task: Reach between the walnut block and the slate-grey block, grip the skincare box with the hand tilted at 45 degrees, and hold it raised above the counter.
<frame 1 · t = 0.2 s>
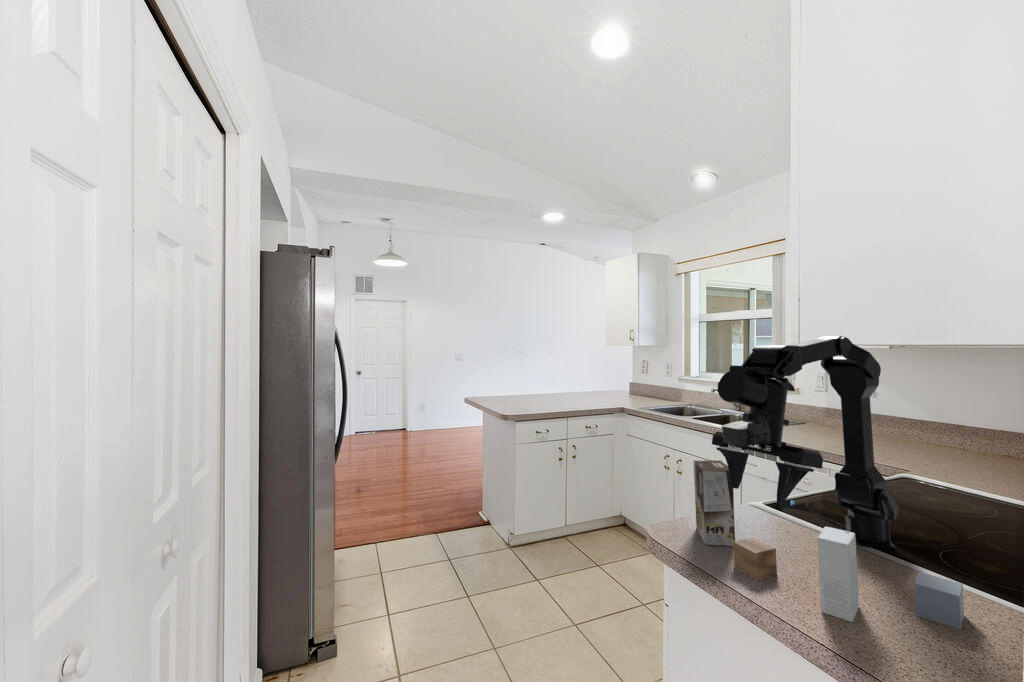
hand: (756, 495, 80), 15 cm above the countertop, tool pointing down, fingers open, 9 cm apart
skincare box: (839, 610, 70), on the countertop
coffee box: (715, 537, 97), on the countertop
walnut block: (755, 571, 82), on the countertop
slate block: (939, 615, 68), on the countertop
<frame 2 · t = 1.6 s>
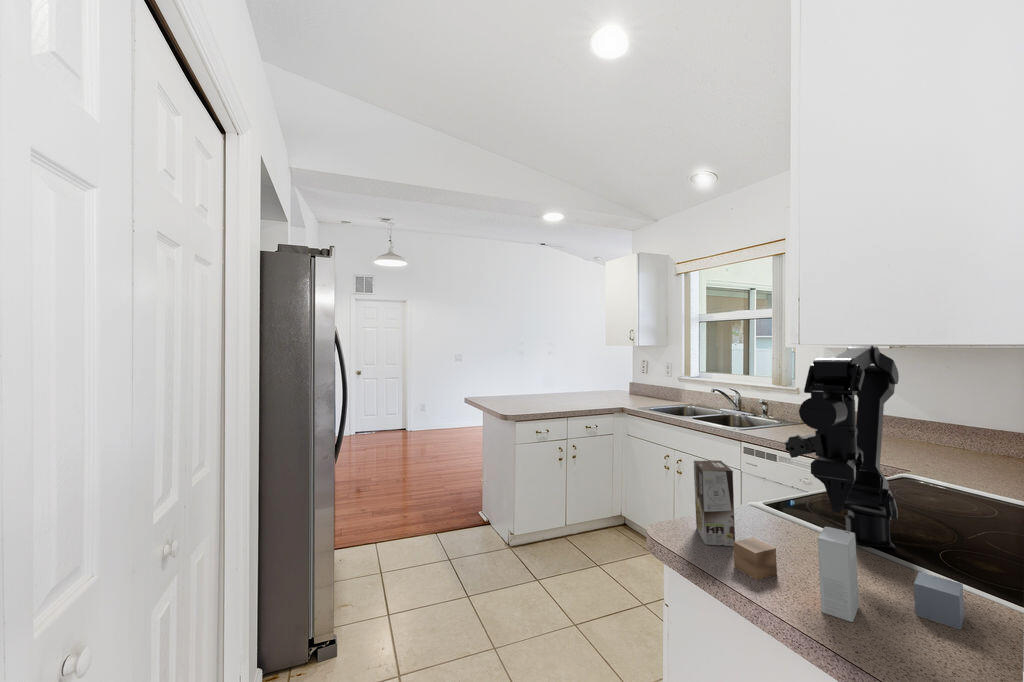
hand: (839, 505, 82), 12 cm above the countertop, tool pointing down, fingers open, 9 cm apart
nothing on the countertop moved.
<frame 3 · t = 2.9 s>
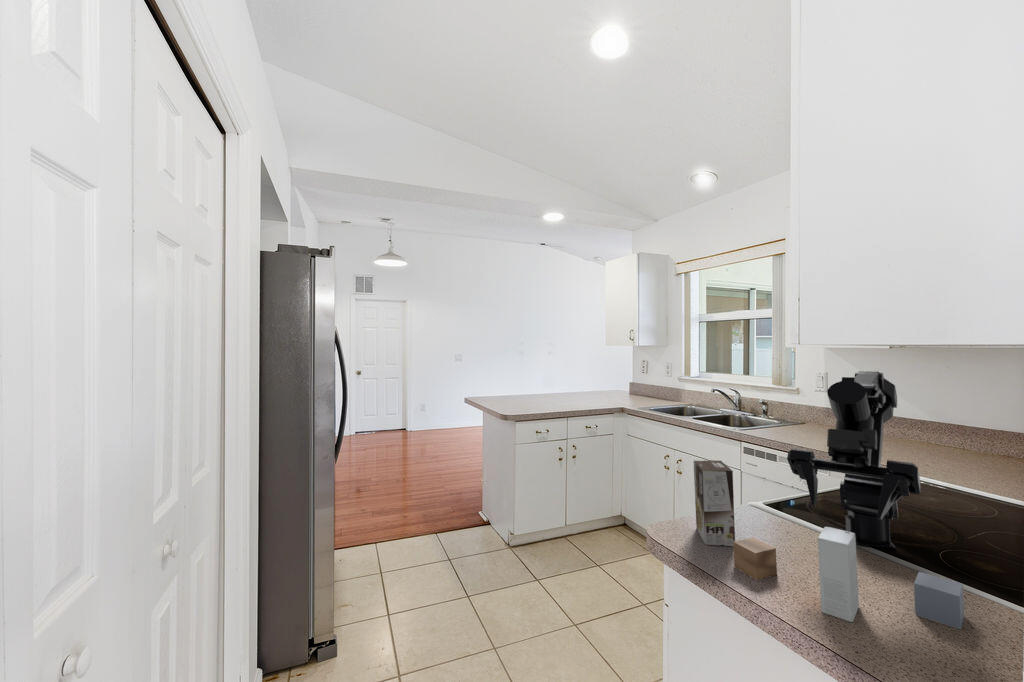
hand: (844, 511, 75), 14 cm above the countertop, tool tilted 45°, fingers open, 9 cm apart
nothing on the countertop moved.
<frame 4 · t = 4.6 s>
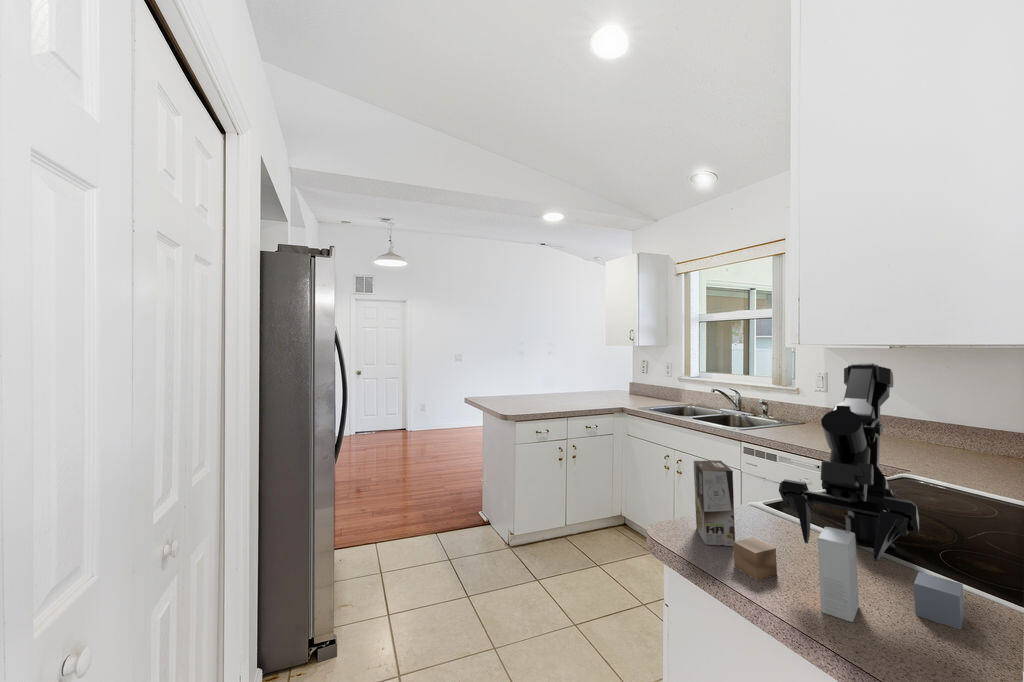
hand: (838, 550, 71), 9 cm above the countertop, tool tilted 45°, fingers open, 9 cm apart
nothing on the countertop moved.
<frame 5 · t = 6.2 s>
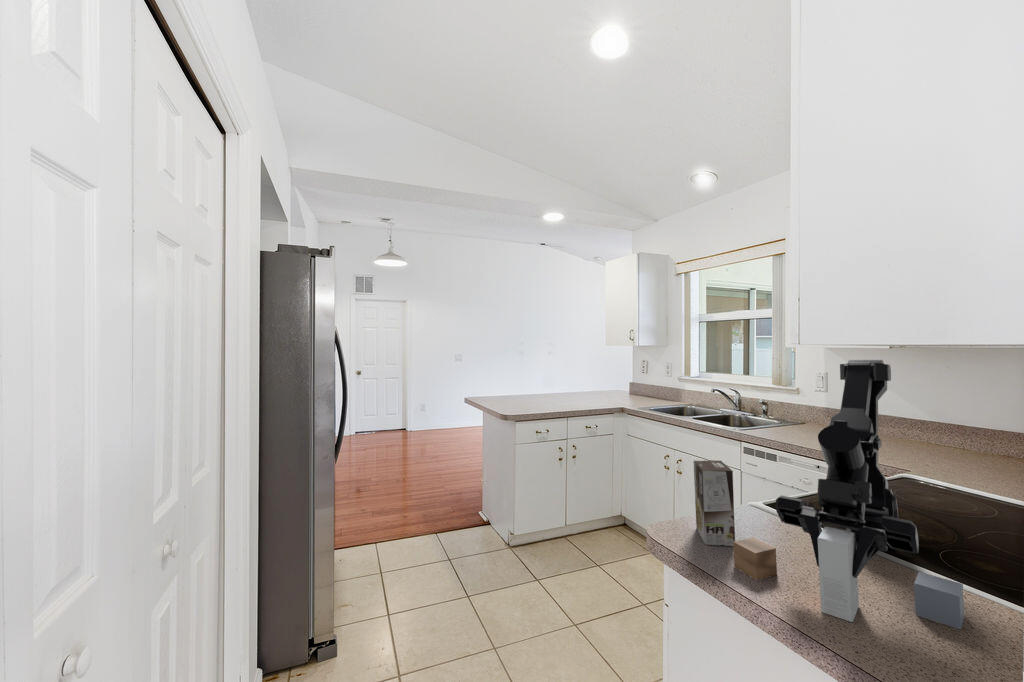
hand: (836, 571, 69), 7 cm above the countertop, tool tilted 45°, fingers closed on skincare box, 4 cm apart
skincare box: (839, 610, 70), on the countertop, touching gripper
everything else where it was.
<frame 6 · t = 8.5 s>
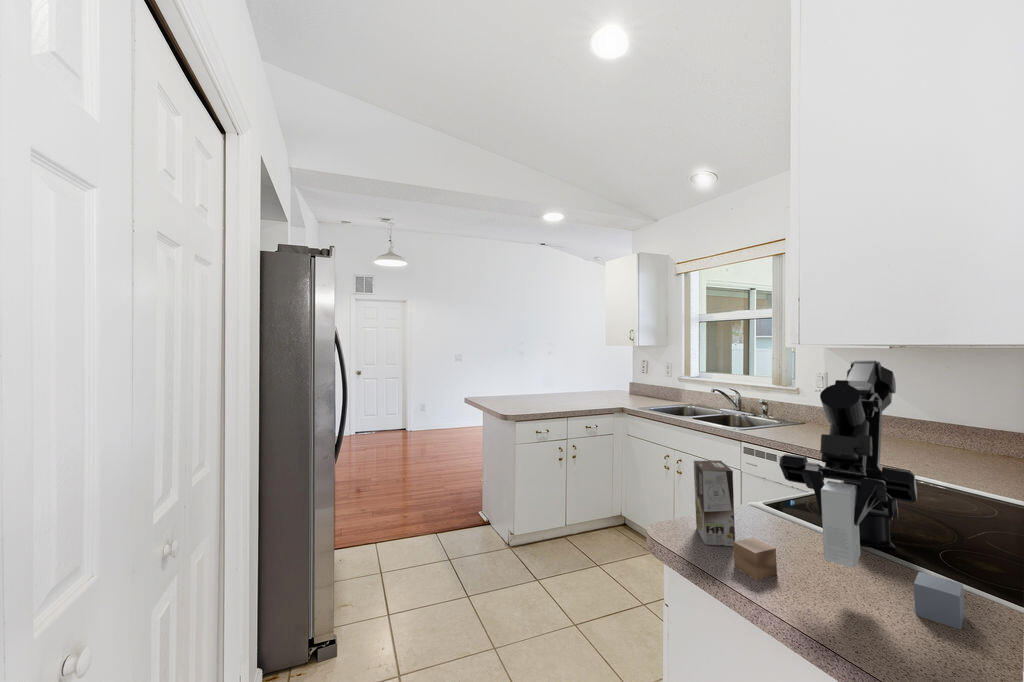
hand: (838, 520, 72), 13 cm above the countertop, tool tilted 45°, fingers closed on skincare box, 4 cm apart
skincare box: (842, 559, 73), point 6 cm above the countertop, touching gripper
everything else where it was.
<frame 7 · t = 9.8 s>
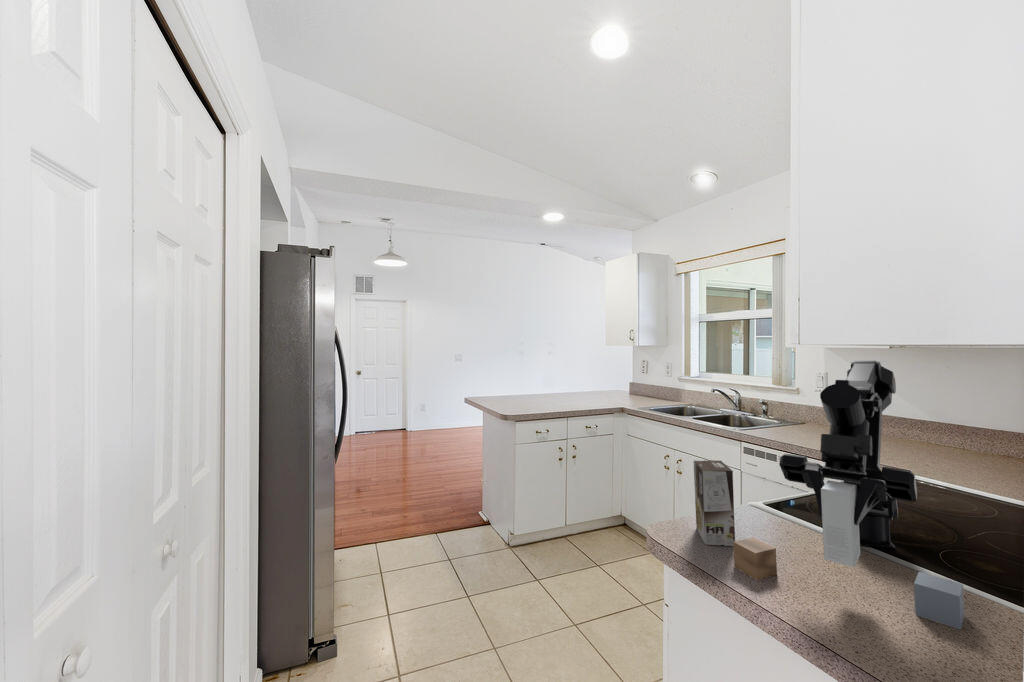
hand: (838, 520, 72), 13 cm above the countertop, tool tilted 45°, fingers closed on skincare box, 4 cm apart
skincare box: (842, 558, 73), point 6 cm above the countertop, touching gripper
everything else where it was.
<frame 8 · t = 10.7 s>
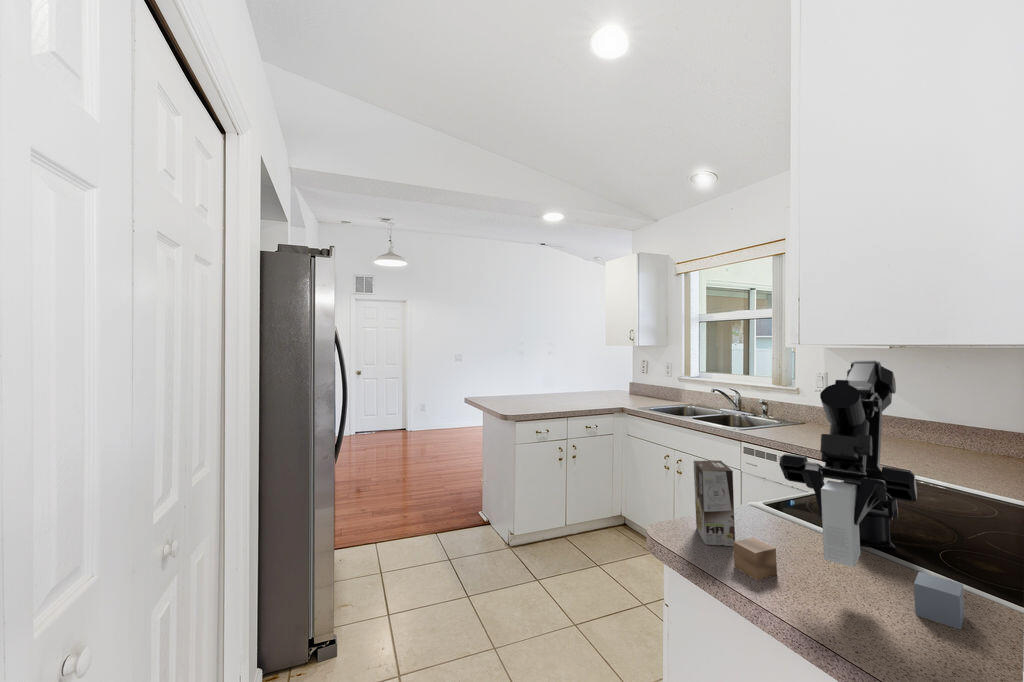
hand: (838, 520, 72), 13 cm above the countertop, tool tilted 45°, fingers closed on skincare box, 4 cm apart
skincare box: (842, 558, 73), point 6 cm above the countertop, touching gripper
everything else where it was.
at the end: the gripper is holding skincare box; skincare box point 6.4 cm above the countertop; walnut block moved 0.1 cm from its start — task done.
